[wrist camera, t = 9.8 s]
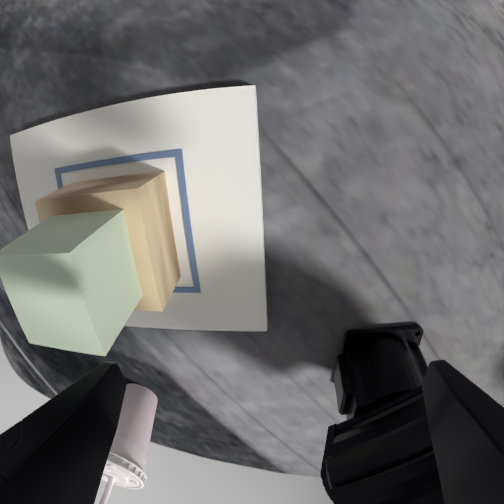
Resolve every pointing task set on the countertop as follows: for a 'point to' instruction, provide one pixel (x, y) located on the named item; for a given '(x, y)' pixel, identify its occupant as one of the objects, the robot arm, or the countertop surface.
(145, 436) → the smoothie
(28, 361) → the countertop surface
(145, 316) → the white mat
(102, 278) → the sage block
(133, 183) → the maple block
